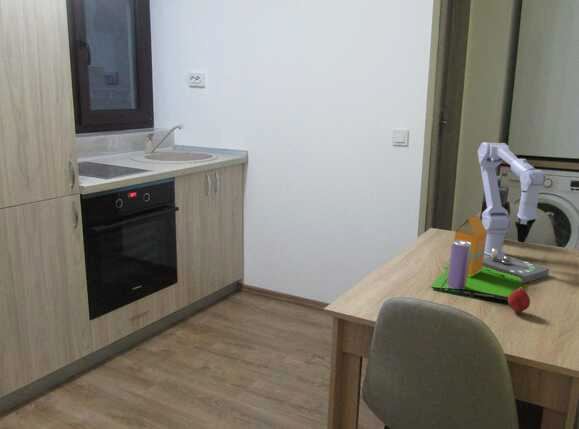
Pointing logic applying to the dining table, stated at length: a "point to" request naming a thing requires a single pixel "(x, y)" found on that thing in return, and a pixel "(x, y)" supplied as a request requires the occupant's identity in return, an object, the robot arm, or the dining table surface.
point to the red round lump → (519, 300)
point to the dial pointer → (506, 258)
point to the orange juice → (473, 241)
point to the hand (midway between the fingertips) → (522, 239)
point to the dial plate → (516, 268)
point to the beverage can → (459, 264)
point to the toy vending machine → (503, 197)
